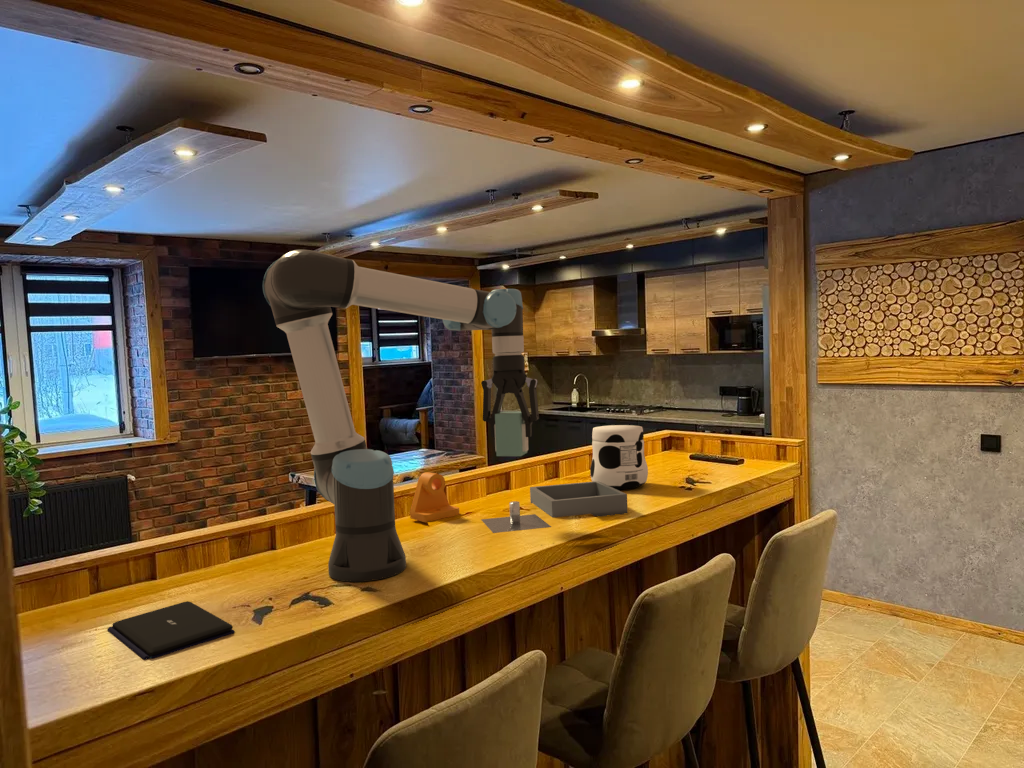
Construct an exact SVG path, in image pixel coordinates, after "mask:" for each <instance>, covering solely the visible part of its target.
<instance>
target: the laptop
mask: <svg viewBox="0 0 1024 768" xmlns="http://www.w3.org/2000/svg"><path fill="white" fill-rule="evenodd" d="M111 625H112V626H109V627H108V628H107V632H109V633H110V634H111V635H112V636H114V638H116V639H117V640H119V641H120V642H121V643H122V644H123V645H125V646H126V647H127V648H128V649H129V650H131V651H132V652H133V653H135V654H136V655H137V656H138V657H140V659H142V660H143V661H146V660H149V659H151V660H155V659H157V658H160V657H162V656H167V655H169V654H172V653H176V652H179V651H182V650H185V649H189V648H192V647H195V646H198V645H201V644H205V643H207V642H211V641H214V640H216V639H217V640H218V639H221V638H224V637H227V636H231V635H233V634H235V633H236V632H235V629H233V625H232V624H231V623H229V622H227V621H225V620H224V619H222V618H221V617H218V616H217V615H216V614H215V615H214V614H213V613H211V612H209V611H208V610H206V609H204V608H203V607H200V606H199V605H197V604H195V603H193V602H192V601H183V602H178V603H176V604H172V605H169V606H165V607H162V608H158V609H155V610H152V611H148V612H144V613H142V614H138V615H134V616H131V617H128V618H125V619H120V620H118V621H115V622H113V623H112V624H111Z"/></svg>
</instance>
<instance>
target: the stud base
mask: <svg viewBox="0 0 1024 768" xmlns="http://www.w3.org/2000/svg"><path fill="white" fill-rule="evenodd" d="M508 505H509V516H505V517H504V516H503V517H492V518H491V517H490V518H482V519H480V521H481V522H482V523H484V525H485V526H486V527H487V529H489V530H490V531H491V532H492V533H493V534H495V533H496V534H497V533H506V532H508V533H509V532H515V531H525V530H526V531H527V530H536V529H546V528H552V526H551V525H550V524H549V523H547V522H546V521H545V520H544V519H542V518H541V517H540V516H539V515H537V514H536V513H533V514H524V515H522V514H521V513H520V512H521V511H520V510H521V508H520V501H516V500H515V501H510V502H509V504H508Z"/></svg>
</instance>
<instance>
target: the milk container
mask: <svg viewBox="0 0 1024 768" xmlns="http://www.w3.org/2000/svg"><path fill="white" fill-rule="evenodd" d="M591 435H592V436H591V438H592V442H591V446H592V458H591V459H592V460H591V464H590V468H589V471H590V478H591V482H594V481H599V482H602V483H604V484H606V485H608V486H610V487H612V488H615V489H617V490H624V489H632V488H633V489H635V488H638V487H641V486H643V485H644V484H645V483H646V482H647V480H648V475H649V469H648V468H649V467H648V464H647V461H646V457H645V440H644V439H645V437H644V428H643V426H640V425H633V424H630V425H629V424H616V425H615V424H611V425H602V426H595V427H593V428H592V433H591Z"/></svg>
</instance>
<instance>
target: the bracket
mask: <svg viewBox="0 0 1024 768" xmlns="http://www.w3.org/2000/svg"><path fill="white" fill-rule="evenodd" d="M420 474H421V475H419V477H418V480H417V483H416V487H415V491H414V495H413V500H412V502H411V503H412V504H411V507H410V510H409V516H410V517H409V518H410V520H411V519H412V520H416V521H419V522H423V523H428V522H432V521H436V520H440V519H444V518H449V517H454V516H460V507H459V506H454V505H450V503H449V500H448V497H447V495H446V493H445V487H446V479H445V477H444V476H443V475H442V474H440V473H435V472H430V471H425V472H422V473H420Z"/></svg>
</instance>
